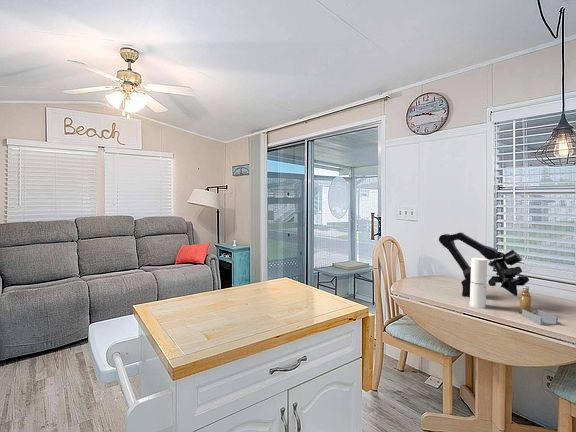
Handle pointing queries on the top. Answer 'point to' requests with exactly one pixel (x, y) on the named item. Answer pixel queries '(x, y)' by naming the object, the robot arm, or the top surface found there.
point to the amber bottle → (525, 300)
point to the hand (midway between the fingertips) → (516, 295)
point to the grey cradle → (540, 317)
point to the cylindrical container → (478, 282)
